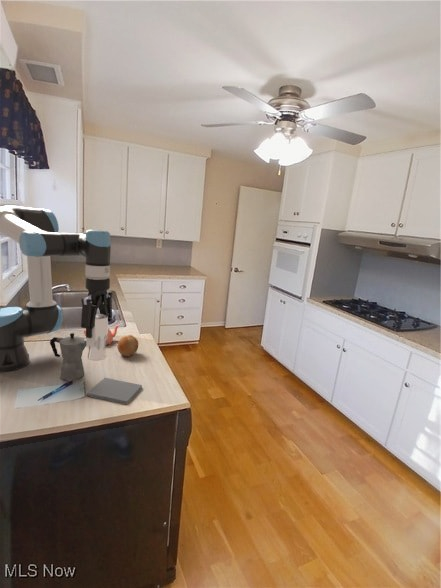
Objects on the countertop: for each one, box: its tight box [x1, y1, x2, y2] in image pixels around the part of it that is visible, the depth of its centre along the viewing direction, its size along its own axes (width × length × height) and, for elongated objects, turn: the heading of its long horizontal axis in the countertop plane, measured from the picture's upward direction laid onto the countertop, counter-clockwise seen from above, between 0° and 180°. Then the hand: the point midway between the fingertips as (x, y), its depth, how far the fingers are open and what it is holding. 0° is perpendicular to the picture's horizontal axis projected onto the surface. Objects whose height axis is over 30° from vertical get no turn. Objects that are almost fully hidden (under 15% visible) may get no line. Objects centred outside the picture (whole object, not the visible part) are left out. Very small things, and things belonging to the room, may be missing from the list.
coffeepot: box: [49, 332, 87, 381], centre depth 122 cm, size 15×9×18 cm, turn 89°
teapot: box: [83, 323, 121, 346], centre depth 158 cm, size 12×18×10 cm
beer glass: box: [87, 313, 109, 362], centre depth 106 cm, size 7×7×15 cm
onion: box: [117, 334, 139, 357], centre depth 146 cm, size 10×10×10 cm
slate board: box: [86, 377, 143, 405], centre depth 115 cm, size 16×12×1 cm
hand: (97, 342), depth 106 cm, fingers closed on beer glass, 7 cm apart
